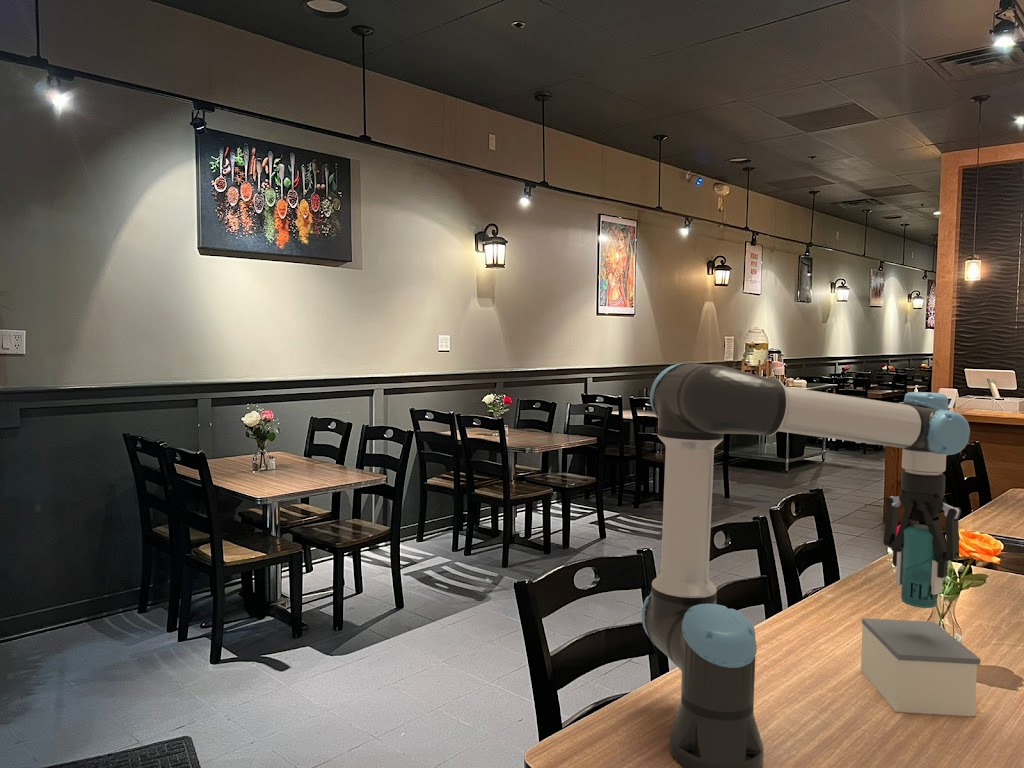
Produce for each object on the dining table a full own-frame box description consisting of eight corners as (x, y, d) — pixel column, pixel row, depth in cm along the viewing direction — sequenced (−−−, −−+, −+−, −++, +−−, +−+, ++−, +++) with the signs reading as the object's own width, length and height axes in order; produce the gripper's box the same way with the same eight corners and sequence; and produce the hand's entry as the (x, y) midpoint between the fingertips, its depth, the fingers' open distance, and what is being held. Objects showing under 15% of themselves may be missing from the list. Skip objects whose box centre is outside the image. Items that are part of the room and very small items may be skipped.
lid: (898, 659, 138) (898, 654, 138) (861, 622, 157) (862, 618, 157) (980, 664, 137) (980, 659, 137) (933, 626, 155) (934, 621, 155)
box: (895, 711, 139) (897, 659, 139) (860, 670, 157) (862, 623, 157) (974, 716, 138) (977, 663, 137) (930, 673, 156) (932, 627, 155)
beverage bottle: (904, 614, 144) (908, 511, 143) (896, 602, 151) (900, 504, 149) (941, 617, 142) (946, 514, 141) (932, 606, 149) (936, 507, 148)
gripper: (985, 477, 139) (980, 598, 141) (886, 463, 155) (881, 572, 156) (966, 481, 135) (960, 606, 136) (865, 466, 151) (861, 578, 152)
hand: (918, 587), depth 146 cm, fingers closed on beverage bottle, 6 cm apart
